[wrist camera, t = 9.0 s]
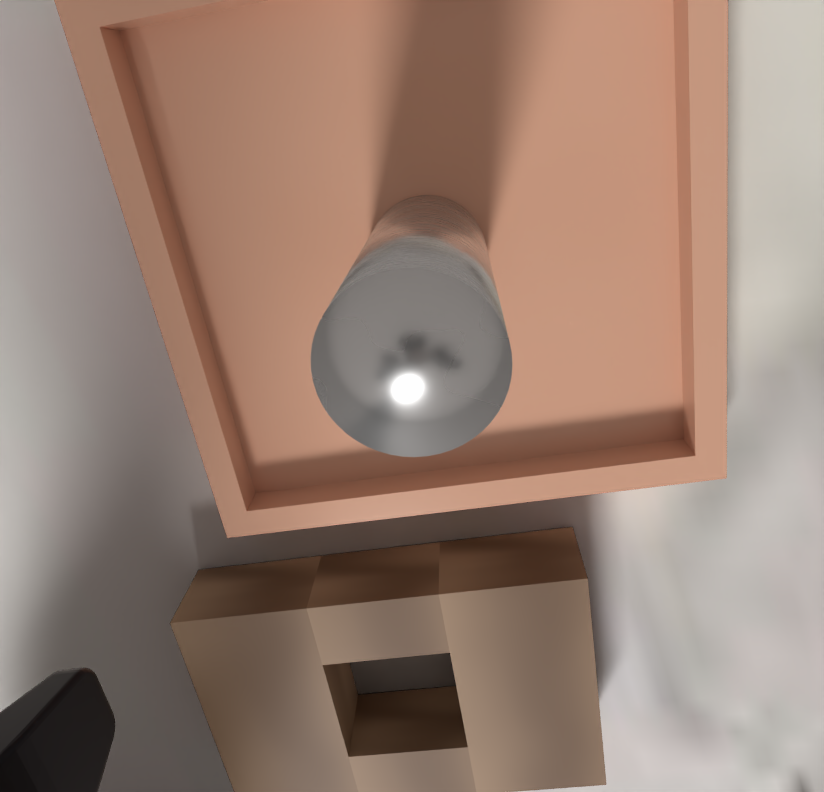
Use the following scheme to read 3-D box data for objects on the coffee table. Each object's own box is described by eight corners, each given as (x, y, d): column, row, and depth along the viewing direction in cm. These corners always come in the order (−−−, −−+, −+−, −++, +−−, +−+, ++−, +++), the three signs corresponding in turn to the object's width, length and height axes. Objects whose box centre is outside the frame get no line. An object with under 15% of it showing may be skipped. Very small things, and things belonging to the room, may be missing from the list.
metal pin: (380, 320, 18) (334, 468, 11) (358, 206, 17) (289, 285, 10) (493, 303, 18) (523, 443, 11) (478, 185, 17) (498, 251, 10)
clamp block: (260, 747, 25) (241, 811, 23) (198, 569, 22) (170, 623, 20) (591, 719, 24) (606, 784, 22) (572, 526, 21) (587, 578, 19)
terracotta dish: (241, 510, 22) (227, 538, 20) (85, 1, 16) (51, -8, 15) (707, 452, 20) (726, 478, 19) (702, -130, 15) (728, -154, 13)
